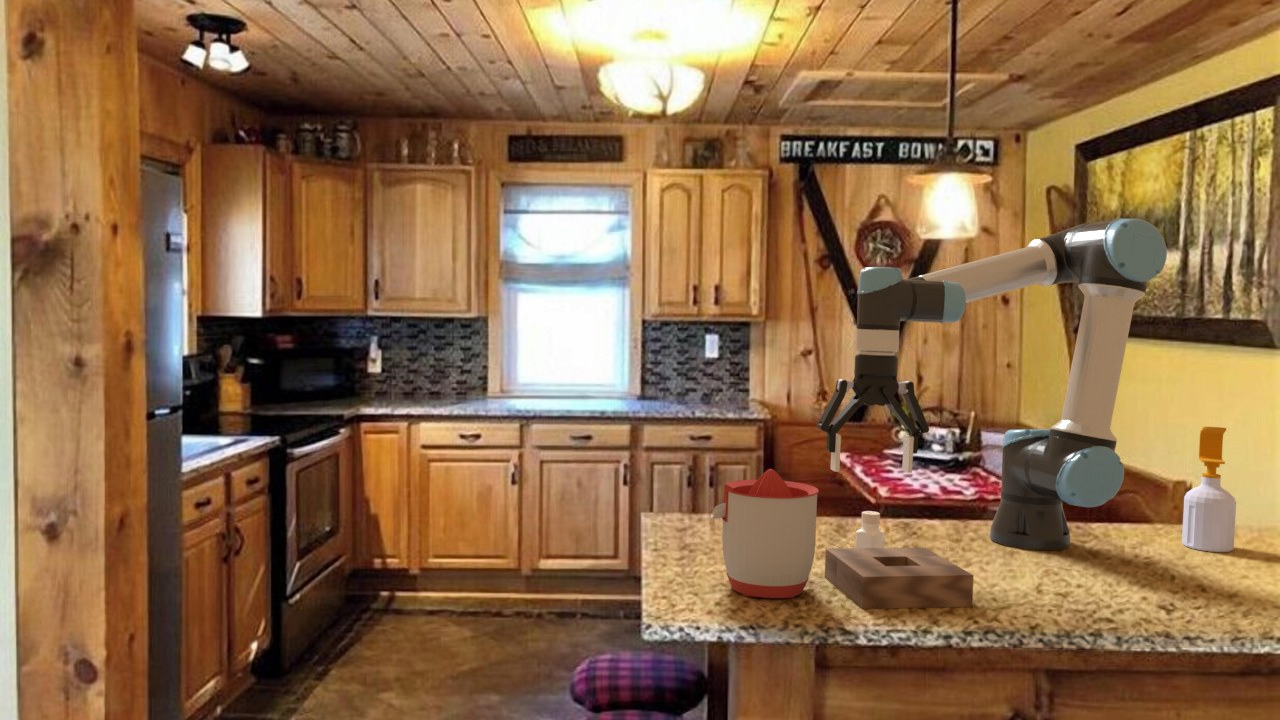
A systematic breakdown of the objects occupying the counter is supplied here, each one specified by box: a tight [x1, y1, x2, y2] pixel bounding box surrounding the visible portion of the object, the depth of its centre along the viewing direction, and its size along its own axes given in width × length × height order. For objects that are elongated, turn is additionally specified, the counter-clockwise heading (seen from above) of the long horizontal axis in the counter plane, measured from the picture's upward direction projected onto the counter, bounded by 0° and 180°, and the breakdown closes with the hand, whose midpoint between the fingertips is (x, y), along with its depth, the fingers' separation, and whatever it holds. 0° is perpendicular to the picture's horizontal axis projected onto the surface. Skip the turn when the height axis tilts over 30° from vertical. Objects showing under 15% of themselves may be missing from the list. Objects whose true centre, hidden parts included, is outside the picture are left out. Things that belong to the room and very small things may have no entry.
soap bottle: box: [1181, 426, 1237, 553], centre depth 202 cm, size 9×9×25 cm
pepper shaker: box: [854, 510, 885, 548], centre depth 182 cm, size 4×4×10 cm
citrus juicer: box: [710, 468, 820, 599], centre depth 163 cm, size 16×17×20 cm
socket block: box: [824, 547, 974, 610], centre depth 165 cm, size 18×18×5 cm
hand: (871, 471), depth 181 cm, fingers open, 13 cm apart
